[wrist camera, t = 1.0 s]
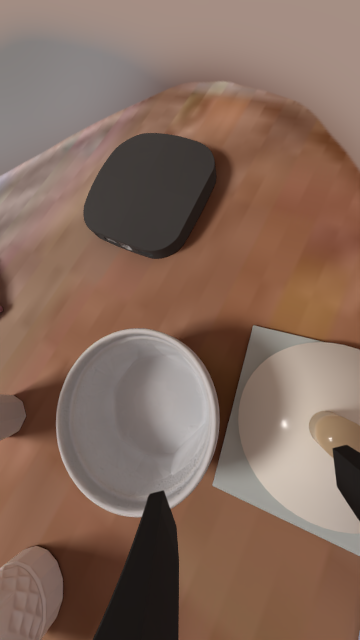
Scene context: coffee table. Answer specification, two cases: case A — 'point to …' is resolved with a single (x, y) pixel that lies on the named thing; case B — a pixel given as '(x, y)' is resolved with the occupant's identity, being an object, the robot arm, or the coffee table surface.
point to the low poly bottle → (10, 415)
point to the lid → (303, 428)
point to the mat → (233, 462)
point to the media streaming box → (151, 193)
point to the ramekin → (137, 420)
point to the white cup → (29, 594)
